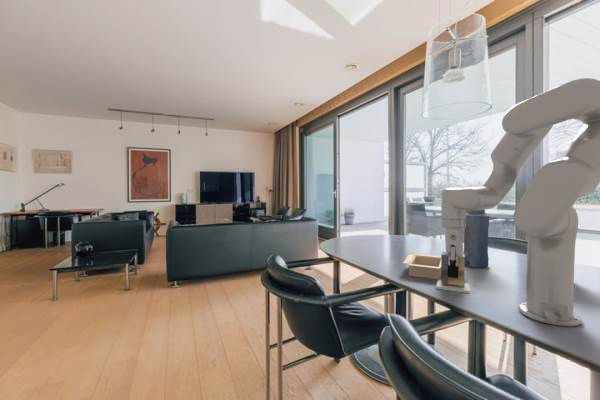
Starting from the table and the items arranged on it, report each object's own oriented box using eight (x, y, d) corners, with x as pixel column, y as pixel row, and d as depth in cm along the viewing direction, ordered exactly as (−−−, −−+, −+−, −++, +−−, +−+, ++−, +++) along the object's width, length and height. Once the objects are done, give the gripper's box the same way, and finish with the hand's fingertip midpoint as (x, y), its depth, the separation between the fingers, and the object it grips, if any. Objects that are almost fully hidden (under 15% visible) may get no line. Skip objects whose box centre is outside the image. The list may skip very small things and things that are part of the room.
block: (464, 286, 95) (464, 256, 94) (441, 283, 98) (441, 254, 98) (464, 282, 99) (464, 253, 99) (442, 279, 102) (442, 251, 102)
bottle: (460, 262, 131) (460, 197, 130) (484, 263, 128) (484, 197, 127) (466, 267, 122) (466, 198, 121) (492, 269, 119) (493, 198, 118)
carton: (447, 282, 104) (447, 269, 104) (401, 276, 112) (401, 264, 112) (449, 268, 121) (449, 257, 121) (409, 263, 129) (409, 253, 129)
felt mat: (469, 293, 93) (469, 291, 93) (436, 288, 98) (436, 286, 98) (469, 285, 100) (469, 283, 100) (437, 281, 105) (437, 279, 105)
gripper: (466, 227, 89) (465, 284, 89) (465, 221, 103) (465, 270, 104) (439, 226, 92) (439, 280, 93) (442, 220, 107) (442, 267, 108)
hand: (453, 274), depth 99 cm, fingers closed on block, 4 cm apart
